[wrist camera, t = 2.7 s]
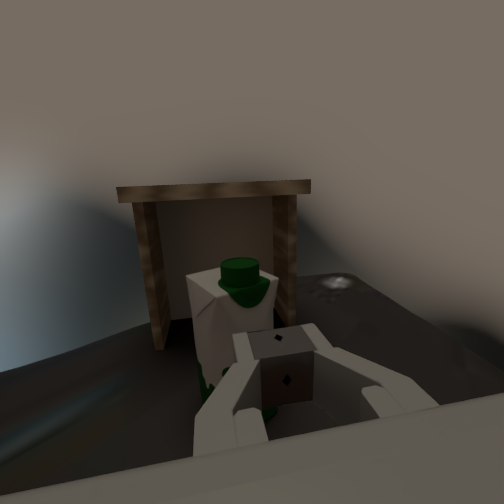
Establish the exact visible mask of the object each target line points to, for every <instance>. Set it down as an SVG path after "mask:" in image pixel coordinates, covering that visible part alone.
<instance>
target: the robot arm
mask: <svg viewBox="0 0 504 504" xmlns="http://www.w3.org/2000/svg"><path fill="white" fill-rule="evenodd" d="M232 345H233V360H234V363H233V364H232V366H231V367H230V368H229V370H228V371H227V373H226V374H225V375H224V377H223V378H222V380H221V381H220V382H219V384H218V385H217V387H216V388H215V389H214V391H213V392H212V394H211V395H210V396H209V398H208V399H207V401H206V402H205V403H204V405H203V406H202V408H201V409H200V411H199V412H198V413H197V415H196V416H195V428H194V447H193V457H188V458H183V459H179V460H174V461H169V462H164V463H159V464H154V465H149V466H144V467H139V468H135V469H130V470H125V471H120V472H115V473H110V474H105V475H100V476H95V477H91V478H86V479H81V480H76V481H71V482H66V483H61V484H56V485H51V486H47V487H42V488H37V489H32V490H27V491H22V492H17V493H12V494H7V495H3V496H0V504H504V393H500V394H495V395H491V396H486V397H481V398H476V399H471V400H466V401H461V402H456V403H451V404H447V405H442V406H440V405H439V404H438V403H436V402H435V401H434V400H433V399H432V398H431V397H430V396H429V395H428V394H427V393H426V392H425V391H424V390H423V389H421V388H420V387H419V386H418V385H417V384H416V383H415V382H414V381H413V380H412V379H411V378H409V377H406V376H404V375H402V374H399V373H397V372H395V371H392V370H390V369H387V368H385V367H383V366H380V365H378V364H376V363H373V362H371V361H369V360H366V359H364V358H362V357H359V356H357V355H354V354H352V353H350V352H347V351H345V350H343V349H340V348H338V347H337V348H333V347H332V345H331V344H330V343H329V342H328V340H327V339H326V338H325V337H324V336H323V334H322V333H321V332H320V331H319V329H318V328H317V327H316V326H315V325H314V324H313V323H309V324H303V325H298V326H292V327H285V328H279V329H269V330H261V331H252V332H242V333H236V334H232ZM306 401H313V402H314V403H315V404H316V405H317V406H319V407H320V408H321V409H322V410H324V411H325V412H326V413H327V414H328V415H330V416H331V417H332V418H333V419H335V420H336V421H337V422H338V423H340V424H341V425H342V426H339V427H334V428H330V429H325V430H320V431H315V432H310V433H306V434H301V435H296V436H291V437H286V438H281V439H276V440H271V441H268V437H267V433H266V430H265V426H264V422H263V418H262V414H261V413H262V410H264V409H268V408H273V407H277V406H282V405H287V404H293V403H300V402H306Z"/></svg>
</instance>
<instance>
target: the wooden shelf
mask: <svg viewBox="0 0 504 504" xmlns="http://www.w3.org/2000/svg"><path fill="white" fill-rule="evenodd" d="M116 189H117V195H118V201H119V203H132V207H133V212H134V220H135V225H136V232H137V239H138V244H139V251H140V258H141V264H142V271H143V277H144V284H145V290H146V296H147V302H148V309H149V316H150V322H151V328H152V335H153V341H154V348H155V351H156V350H164V347H165V343H166V339H167V335H168V331H169V327H170V323H171V320H176V319H185V318H192V311H191V305H190V298H189V292H188V286H187V280H186V275H190V274H194V273H198V272H202V271H207V270H211V269H215V268H219V267H220V263H221V262H222V261H224V260H226V259H230V258H236V257H249V258H254V259H257V260H258V261H259V270H261V271H264V272H266V273H268V274H271V275H273V276H275V277H277V278H278V279H279V281H278V286H277V291H276V297H275V302H274V308H275V309H276V311H277V313H278V315H279V316H280V318H281V320H282V322H283V323H284V325H285V327H292V326H296V204H297V201H296V199H297V194H310V193H311V179H309V180H308V179H306V180H281V181H256V182H232V183H206V184H181V185H157V186H133V187H116Z"/></svg>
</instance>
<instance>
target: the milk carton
mask: <svg viewBox="0 0 504 504" xmlns="http://www.w3.org/2000/svg"><path fill="white" fill-rule="evenodd" d="M186 280H187V286H188V292H189V298H190V305H191V311H192V319H193V329H194V338H195V347H196V356H197V365H198V374H199V382H200V389H201V395H202V401H203V404H204V403H205V402H206V401H207V399H208V398H209V396H210V395H211V394H212V392H213V391H214V389H215V388H216V387H217V385H218V384H219V382H220V381H221V380H222V378H223V377H224V375H225V374H226V373H227V371H228V370H229V368H230V367H231V366H232V364H233V363H234V360H233V345H232V334H236V333H242V332H252V331H261V330H269V329H273V308H274V302H275V297H276V291H277V286H278V281H279V279H278V278H277V277H275V276H273V275H271V274H268V273H266V272H264V271H261V270H259V261H258V260H257V259H254V258H249V257H236V258H230V259H226V260H224V261H222V262H221V263H220V267H219V268H215V269H211V270H207V271H202V272H198V273H194V274H190V275H186ZM275 413H277V407H273V408H268V409H264V410H262V413H261V414H262V418H263V421H265V420H266V419H268V418H269V417H271V416H272V415H274V414H275Z"/></svg>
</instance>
